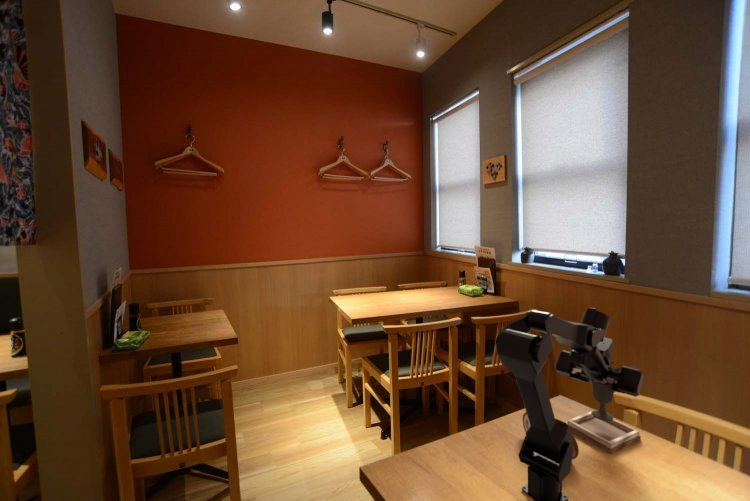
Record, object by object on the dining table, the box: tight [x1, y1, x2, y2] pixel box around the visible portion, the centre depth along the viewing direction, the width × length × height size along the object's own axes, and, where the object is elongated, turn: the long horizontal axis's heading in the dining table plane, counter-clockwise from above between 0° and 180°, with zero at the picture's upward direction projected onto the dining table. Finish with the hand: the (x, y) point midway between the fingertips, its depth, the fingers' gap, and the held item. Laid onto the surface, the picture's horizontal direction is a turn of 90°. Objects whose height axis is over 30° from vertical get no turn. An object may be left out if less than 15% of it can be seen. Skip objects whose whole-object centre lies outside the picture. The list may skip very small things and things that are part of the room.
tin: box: [522, 411, 580, 461], centre depth 87 cm, size 15×3×8 cm, turn 22°
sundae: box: [589, 361, 615, 421], centre depth 92 cm, size 7×7×15 cm
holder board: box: [566, 409, 642, 455], centre depth 93 cm, size 12×12×2 cm
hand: (604, 386), depth 93 cm, fingers closed on sundae, 6 cm apart
